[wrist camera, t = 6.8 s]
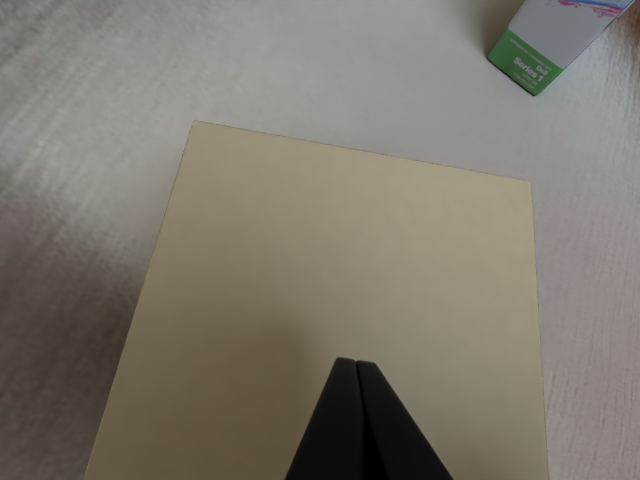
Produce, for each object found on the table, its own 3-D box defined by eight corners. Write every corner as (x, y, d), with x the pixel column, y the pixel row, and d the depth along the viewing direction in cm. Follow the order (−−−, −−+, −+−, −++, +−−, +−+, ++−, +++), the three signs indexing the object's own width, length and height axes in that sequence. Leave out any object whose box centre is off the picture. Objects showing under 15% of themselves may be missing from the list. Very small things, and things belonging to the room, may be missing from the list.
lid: (197, 132, 13) (192, 118, 12) (518, 189, 14) (532, 180, 13) (92, 484, 10) (76, 495, 9) (534, 539, 10) (554, 554, 10)
